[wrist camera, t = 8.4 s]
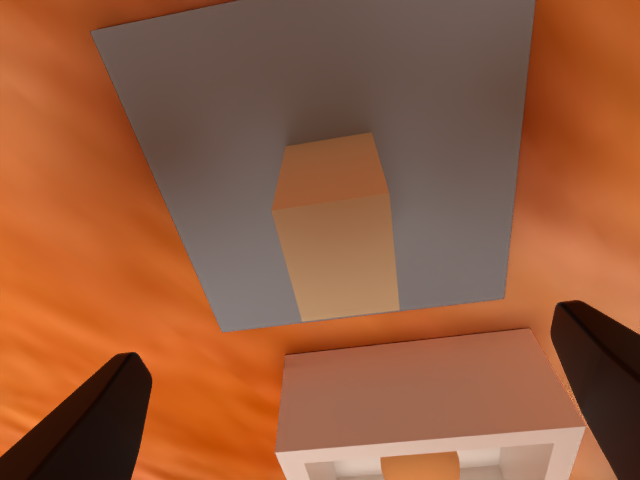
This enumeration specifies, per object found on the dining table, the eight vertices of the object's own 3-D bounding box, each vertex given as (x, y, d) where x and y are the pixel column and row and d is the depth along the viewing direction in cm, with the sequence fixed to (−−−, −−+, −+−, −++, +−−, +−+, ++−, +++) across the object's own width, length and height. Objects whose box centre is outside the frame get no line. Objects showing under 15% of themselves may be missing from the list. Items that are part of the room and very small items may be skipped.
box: (529, 327, 19) (586, 426, 15) (509, 459, 26) (544, 553, 22) (285, 355, 21) (275, 452, 16) (324, 473, 27) (324, 564, 23)
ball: (448, 401, 21) (471, 481, 18) (448, 442, 23) (469, 521, 20) (373, 408, 22) (381, 487, 18) (379, 448, 24) (388, 526, 20)
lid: (526, -61, 12) (658, -80, 7) (496, 284, 19) (551, 386, 14) (104, 27, 13) (-16, 58, 8) (226, 317, 20) (197, 420, 15)
